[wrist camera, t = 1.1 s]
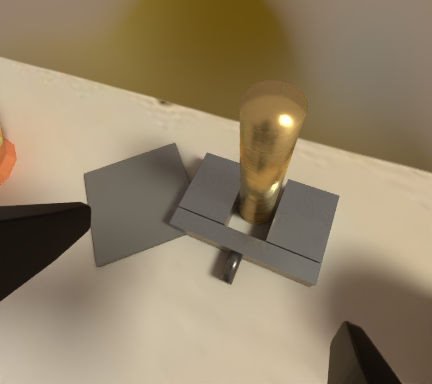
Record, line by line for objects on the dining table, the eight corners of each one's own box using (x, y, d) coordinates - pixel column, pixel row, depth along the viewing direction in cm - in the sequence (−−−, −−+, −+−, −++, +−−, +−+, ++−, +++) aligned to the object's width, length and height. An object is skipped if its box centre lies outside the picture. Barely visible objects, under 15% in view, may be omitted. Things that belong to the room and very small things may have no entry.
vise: (301, 317, 19) (306, 318, 17) (161, 253, 22) (155, 248, 20) (332, 203, 22) (339, 195, 21) (209, 162, 25) (207, 152, 24)
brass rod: (247, 228, 22) (256, 139, 10) (234, 200, 23) (230, 92, 12) (278, 217, 22) (320, 116, 11) (264, 189, 24) (288, 72, 12)
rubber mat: (98, 267, 22) (96, 266, 21) (86, 175, 26) (84, 173, 26) (205, 227, 22) (204, 226, 22) (176, 144, 27) (175, 142, 26)
